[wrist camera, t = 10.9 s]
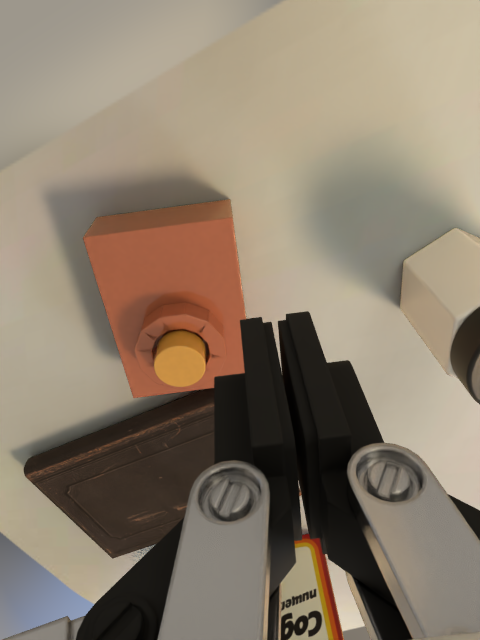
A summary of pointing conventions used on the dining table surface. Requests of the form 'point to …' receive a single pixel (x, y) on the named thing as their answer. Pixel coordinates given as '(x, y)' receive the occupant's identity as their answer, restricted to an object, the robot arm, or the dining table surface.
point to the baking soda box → (309, 596)
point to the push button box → (170, 287)
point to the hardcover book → (131, 473)
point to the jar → (447, 303)
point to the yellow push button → (180, 358)
